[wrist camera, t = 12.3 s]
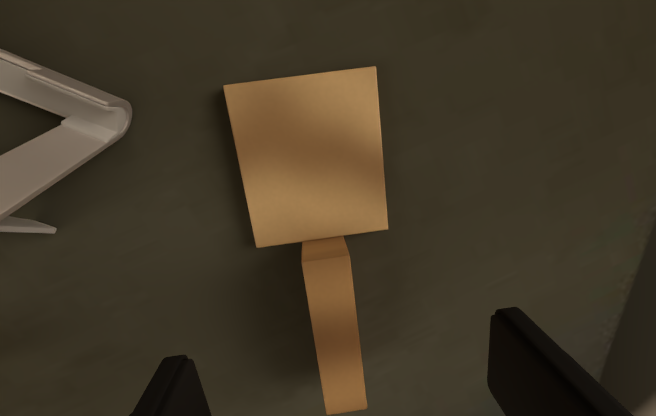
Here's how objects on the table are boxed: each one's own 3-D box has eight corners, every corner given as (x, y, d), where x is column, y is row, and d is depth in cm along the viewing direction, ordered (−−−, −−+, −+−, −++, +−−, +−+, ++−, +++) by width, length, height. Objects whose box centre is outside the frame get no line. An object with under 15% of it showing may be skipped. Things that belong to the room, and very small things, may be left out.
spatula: (395, 357, 20) (411, 402, 17) (285, 374, 19) (281, 422, 16) (372, 68, 15) (390, 55, 12) (226, 86, 15) (205, 78, 12)
